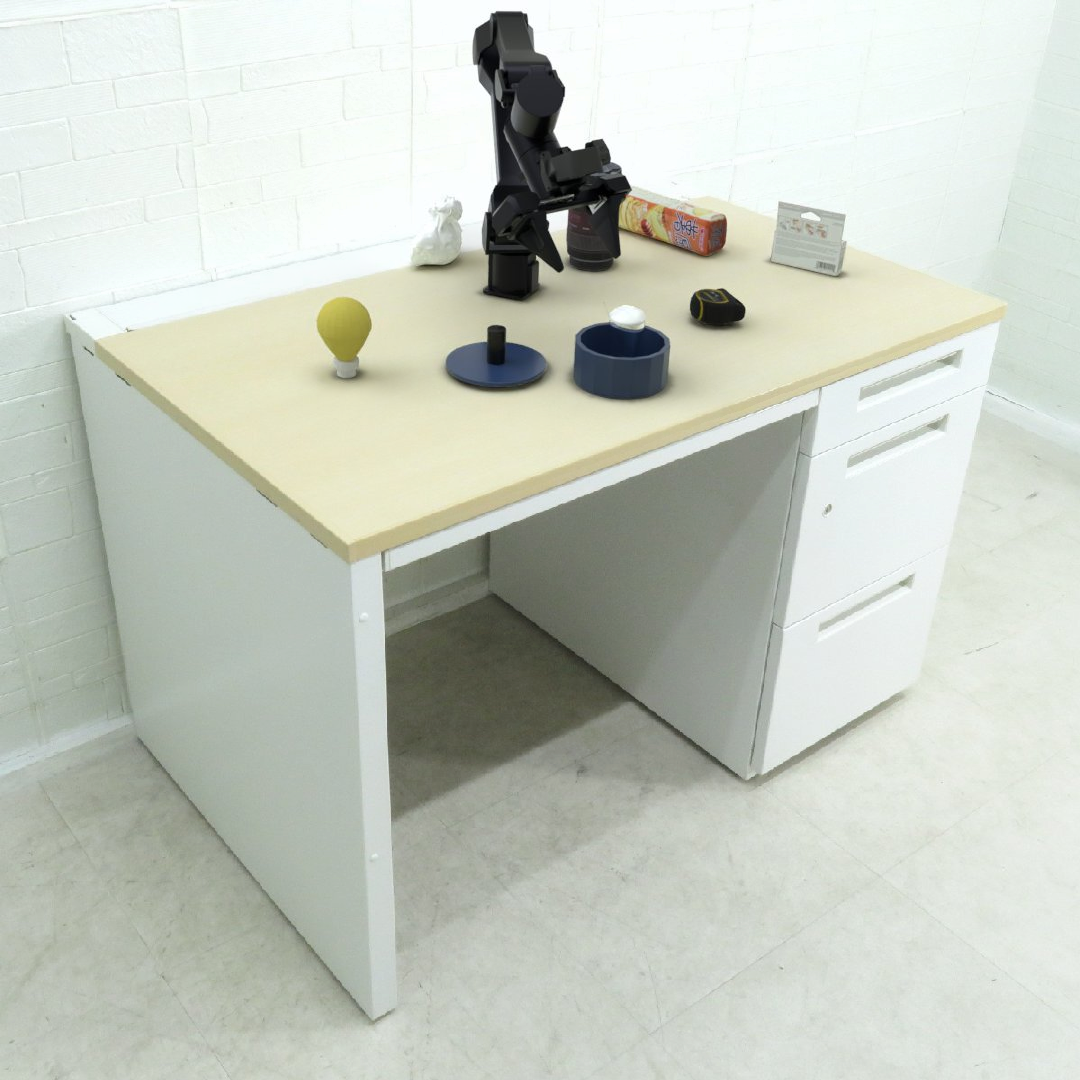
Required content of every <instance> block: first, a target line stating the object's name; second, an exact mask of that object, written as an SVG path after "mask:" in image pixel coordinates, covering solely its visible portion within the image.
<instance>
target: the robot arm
mask: <svg viewBox="0 0 1080 1080" xmlns="http://www.w3.org/2000/svg"><path fill="white" fill-rule="evenodd" d="M534 36H535V35H534V28H533V27H532V26H531V25H530V24H529V16H528V13H526V12H523V11H521V10H496V11H495V12H491V13H490V16H489V19H488V20H486V21H485V22H484V23H482V24H480V25H479V26H477V27H476V28H475V29H474V33H473V38H472V53H471V54H472V64H473V66H477V76H478V82H479V84H480V85H481V86H482V87H483V89H484V90H485V91H486V92H487V94H488V96H489V97H490V108H491V119H492V134H493V148H494V161H495V175H496V178H495V179H496V184H495V185H494V186H493V187H494V188H493V190H492V192H491V194H490V197H489V201H488V207H487V211H485V212H484V216H483V221H482V226H481V245H482V249H483V252H484V255H485V256H487V285H486V286H485V287H483V288H482V293H484V294H488V295H493V296H498V297H502V298H508V299H513V300H517V301H524V300H526V299H527V298H528V297H530V295H532V294H533V293H534V292H536V291H537V290H538V289H539V288H541V283H539V278H540V261H539V260H537V257H538V258H539V259H540V260H542V261H543V262H544V263H545V264H546V265H547V266H549V267H550V268H551V269H552V270H553V271H555V272H556V273H558V274H559V273H562V272H563V271H564V270H565V266H564V262H563V260H562V256H561V254H560V252H559V250H558V248H557V246H556V244H555V241H554V240H553V238H552V234H551V233H550V230H549V228H550V221H549V220H548V215H549V214H554V213H559V212H564V211H568V210H569V209H573V208H578V207H583V209H584V211H585V212H586V213H588V214H589V215H591V217H590V218H589V219H588V222H589V223H590V225H591V226H592V228H593V229H594V231H595V232H596V234H597V235H598V237H599V238H600V240H601V241H602V243H603V244H604V246H605V247H606V249H607V250H608V251H609V253H610V254H611V255H612V256H613V260H617V259H619V258H620V257H621V256H622V250H621V238H620V229H619V228H620V227H618V212H619V208H620V205H621V204H622V203H623V202H624V201H625V200H626V196H627V195H628V194H629V193H630V192H631V191H632V188H631V186H630V185H631V184H630V182H629V180H628V178H627V176H626V175H625V174H623V173H622V174H619V173H617V174H612V175H607V176H602V177H599V178H598V179H597V180H596V181H595V182H594V183H593V184H592V185H591V186H590V187H589V188H588V189H587V190H583V191H581V190H580V187H581V186H582V185H585V184H586V183H587V182H588V181H589V179H588V177H587V176H588V175H591V174H595V173H599V174H600V173H603V172H604V169H603V166H604V165H607V164H610V162H612V161H611V160H612V156H611V152H610V149H609V147H608V145H607V144H606V142H605V140H604V138H598V139H593V140H591V141H588V142H585V144H584V148H579V149H575V150H572V149H571V147H569V146H561V144H560V142H559V140H558V138H557V136H556V133H555V129H556V126H557V123H558V120H559V118H560V117H559V116H560V113H561V110H562V107H563V104H564V101H565V99H564V98H565V97H566V86H565V84H564V83H563V81H562V79H561V77H559V75H558V71H557V69H553V64H552V62H551V60H550V59H549V57H548V56H547V55H545V54H542V53H540V52H536V50H535V37H534Z"/></svg>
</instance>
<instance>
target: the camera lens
mask: <svg viewBox="0 0 1080 1080" xmlns="http://www.w3.org/2000/svg"><path fill="white" fill-rule="evenodd" d="M603 169H604V172H603V173H600V174H599V173H595V174H591V175H588V176H587V177H588V179H589V181H588V182H587V183H586V184H585V185H582V186H581V187H580V190H581V191H583V190H587V189H588V188H589V187H590V186H591V185H592V184H593V183H594V182H595V181H596V180H597V179H598V178H599V177H602V176H607V175H612V174H617V173H619V174H622V175H623V172H622V171H623V170H622V167H621V166H620V165H619V164H618V163H615V162H612V161H610V164H607V165H604V166H603ZM619 211H620V208H619ZM590 217H591V215H589V214H588V213H586V212H585V211H584V209H583V207H578V208H573V209H569V210H567V223H566V234H565V235H566V238H565V241H566V253H567V255H568V257H569V258H568V261H569V264H570V266H572V267H573V268H575V269H578V270H583V271H593V272H594V271H595V272H596V271H597V272H598V271H605V270H608V269H611V267H612V266H613V265H614V258H613V256H612V255H611V254H610V253H609V251H608V250H607V249H606V247H605V246H604V244H603V243H602V241H601V240H600V238H599V237H598V235H597V234H596V232H595V231H594V229H593V228H592V226H591V225H590V223H589V222H588V219H589V218H590ZM618 227H619V212H618ZM619 228H620V227H619Z"/></svg>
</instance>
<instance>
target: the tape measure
mask: <svg viewBox="0 0 1080 1080" xmlns="http://www.w3.org/2000/svg"><path fill="white" fill-rule="evenodd" d="M746 310H747V309H746V306H745V305H744V303H742V301H741V300H739V299H738V298H736V296H733V294H732V293H730V292H729V291H728V290H727V289H725V288H723V287H721V288H716V289H715V288H702V289H699V290H696V291H695V292H693V294H692V296H691V297H690V303H689V311H690V315H691V317H692V318H693V319H695V320H696V321H698V322H700V323H702V324H706V325H711V326H725V325H729V324H734V323H738V322H740V321H743V320H744V318H746V317H745V316H746V312H747V311H746Z"/></svg>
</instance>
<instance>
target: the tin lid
mask: <svg viewBox="0 0 1080 1080" xmlns="http://www.w3.org/2000/svg"><path fill="white" fill-rule="evenodd" d="M445 367H446V370H447V372H448V373H449V374H450V375H451V376H452V377H453V378H455V379H457V380H459V381H462V382H464V383H466V384H470V385H474V386H480V387H487V388H509V387H516V386H521V385H526V384H529V383H532V382H534V381H536V380H538V379H540V378H541V377H542V376H543V375H545V373H546V371H547V359H546V357H545V356H544V354H542V353H541V352H539V350H536V349H534V348H532V347H530V346H527V345H524V344H520V343H515V342H508V341H507V327H506V326H504V325H501V324H492V325H488V327H486V341H478V342H473V343H467V344H464V345H461V346H460V347H456V348H455V349H453V350H452V351H451V352H449V354H448V355H447V356H446V358H445Z"/></svg>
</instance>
